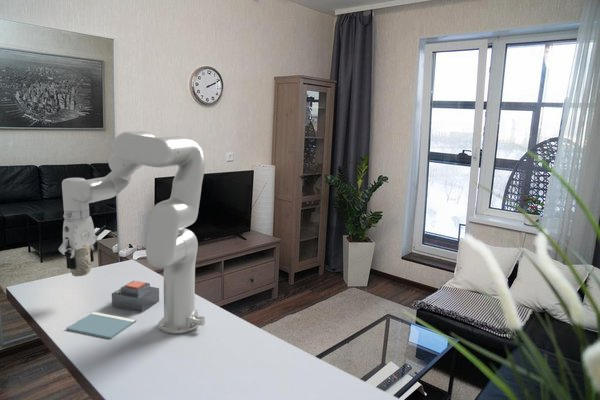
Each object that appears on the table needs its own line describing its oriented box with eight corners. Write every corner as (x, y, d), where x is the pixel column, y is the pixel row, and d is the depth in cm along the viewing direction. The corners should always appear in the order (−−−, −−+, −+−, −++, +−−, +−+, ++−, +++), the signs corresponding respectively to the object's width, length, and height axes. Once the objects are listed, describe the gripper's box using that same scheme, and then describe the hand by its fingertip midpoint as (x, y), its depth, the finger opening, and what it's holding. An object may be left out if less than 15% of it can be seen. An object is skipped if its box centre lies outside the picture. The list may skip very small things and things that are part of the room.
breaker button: (145, 288, 153) (145, 282, 152) (137, 292, 148) (137, 287, 148) (134, 286, 154) (134, 280, 153) (125, 290, 149) (125, 285, 149)
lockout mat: (136, 321, 140) (136, 319, 139) (110, 339, 128) (110, 336, 128) (94, 313, 144) (94, 311, 143) (66, 329, 132) (66, 327, 132)
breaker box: (159, 301, 155) (159, 282, 154) (142, 312, 146) (141, 293, 144) (130, 296, 158) (130, 278, 157) (112, 307, 149) (111, 288, 147)
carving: (67, 278, 144) (65, 244, 142) (74, 270, 152) (72, 238, 150) (88, 277, 146) (85, 243, 143) (94, 270, 153) (91, 237, 151)
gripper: (65, 221, 136) (70, 274, 139) (104, 210, 152) (107, 258, 155) (46, 219, 138) (51, 271, 141) (86, 209, 154) (90, 256, 157)
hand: (80, 264), depth 148 cm, fingers closed on carving, 7 cm apart
